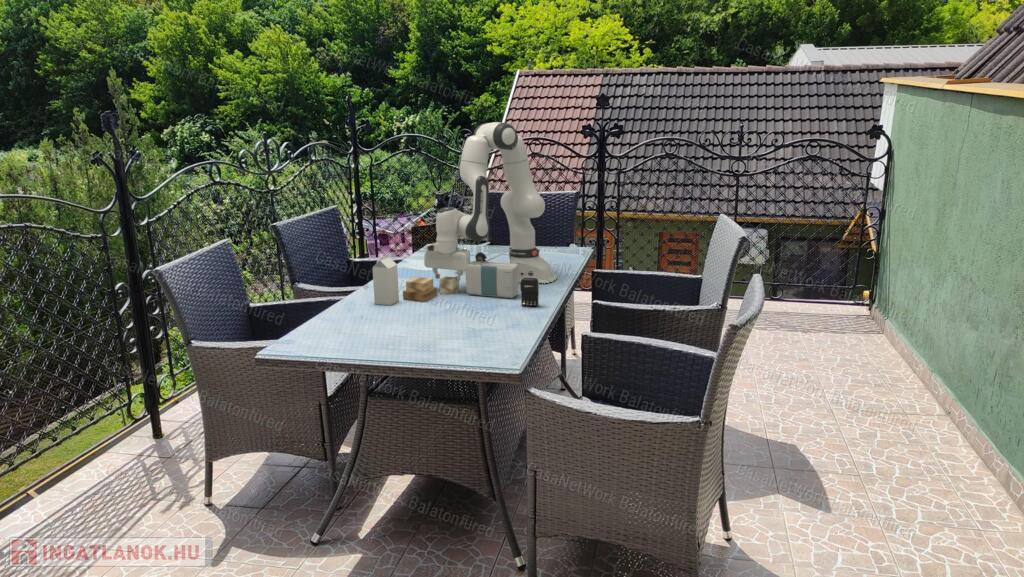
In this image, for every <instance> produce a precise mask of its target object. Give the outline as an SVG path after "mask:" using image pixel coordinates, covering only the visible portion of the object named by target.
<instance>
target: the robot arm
mask: <svg viewBox="0 0 1024 577" xmlns="http://www.w3.org/2000/svg"><path fill="white" fill-rule="evenodd" d="M493 150H499V151H500V154H501V159H502V160H501V162H502V166H503V172H504V179H505V181H506V183H507V184H508V186H509V187H510V188H511V190H509V191H505V192H504V193H503V194H502V196H501V198H500V207H501V209H503V211H504V213H505V216H506V219H507V223H508V229H509V242H510V243H509V250H510V251H509V250H508V252H509V253H508V254H509V255H508V256H509V264H518V284H521V280H522V278H523V277H536V278H538V280H539V283H542V284H541V285H544V284H545V283H548V284H550V283H549V282H552V283H554V282H555V281H557V280H558V275H556V274H553V271H552V270H553V269H552V266H551V264H550V263H549V262H548V261H546V260H545V259H544V258H543V257H541V255H540V252H541V251H540V250H541V248H537V247H536V230H535V228H534V226H533V224H532V223H531V219H535V218H539V217H540V216H542V215H543V214H544V212H545V209H546V203H545V200H544V199H543V197H542V196H541V195H540V194H539V192H538V190H537V187H536V185H535V183H534V180H533V177H532V175H531V174H532V173H531V170H530V169H531V168H530V163H529V156H528V151H527V147H526V145H525V142H524V139H523V137H522V136H521V135H520V134H518V133H517V130H516V129H515V128H514V126H513V125H512V124H510V123H507V122H499V121H493V122H483V123H481V124H479V125H478V126H476V127H475V129H474V130H473V134H472V135H470V136H468V137H467V138H466V140H465V142H464V146H463V149H462V152H461V156H460V157H461V158H460V164H459V176H460V178H461V180H462V182H463V183H465V184H466V185H467V186H468V187H469V188H470V189H471V191H472V194H473V198H472V199H473V201H472V202H473V203H472V205H473V206H472V214H469V213H466V212H463V211H460V210H458V209H457V208H456V207H454V206H445V207H441V208H439V209H438V211H437V212H436V217H435V218H436V219H435V231H436V238H435V241H436V242H433V243H429V244H427V245H425V251H424V252H425V253H424V260H423V263H424V264H423V265H424V266H425V268H429V269H430V268H431V269H432V272H433V274H434V278H435V279H436V280H440V279H441V274H440V273H439V272H438V270H439V269H440V270H448V271H456V270H458V271H457V275H455V276H454V277H455V280H456V281H459V282H460V281H461V276H463V275H462V273H463V271H466V267H467V265H468V264H470V263H471V262H472V261H471V251H470V250H468V249H467V248H465V247H464V248H463V247H462V248H461V247H459V237H463V238H466V239H468V240H471V241H474V242H481V241H483V240H484V239H486V237H487V236H488V234H489V232H490V223H489V198H490V197H489V196H490V195H489V192H490V190H489V189H490V188H489V186H490V185H489V182H488V177H487V175H488V174H487V170H488V161H489V160H488V159H489V155H490V153H491V151H493ZM513 248H515V249H513ZM511 249H512V250H511ZM556 279H557V280H556ZM554 280H555V281H554ZM553 281H554V282H553ZM543 283H544V284H543ZM545 285H546V284H545Z"/></svg>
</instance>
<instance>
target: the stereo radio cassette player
mask: <svg viewBox="0 0 1024 577" xmlns="http://www.w3.org/2000/svg"><path fill="white" fill-rule="evenodd" d="M513 249H515V248H513ZM511 250H512V249H511ZM509 251H510V250H506V251H504V252H502V253H500V254H497V255H496V256H493V257H491V258H489V259H487V260H486V261H485V262H481V261H476V260H474V261H470V262H471V263H470V264H468V265H467V267H466V275H465V286H466V287H465V288H466V290H465V291H466V293H467V294H468V295H470V296H483V297H493V298H505V299H506V298H507V299H511V298H512V299H514V297H515V296H517V295H518V293H519V283H518V264H510V262H509V263H507V262H506V263H505V262H492V260H494V259H496V258H497V257H500V256H502V255H504V254H506V253H508V252H509Z"/></svg>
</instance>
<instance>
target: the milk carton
mask: <svg viewBox="0 0 1024 577" xmlns="http://www.w3.org/2000/svg"><path fill="white" fill-rule="evenodd" d="M398 274H399V273H398V264H397V263H396V262H395V260H393V259H392V258H391V257H390V254H389V253H387V254H385V255H383V256H380V257H379V259H377V260H376V263H375V264H374V265H373V266H372V282H373V283H372V284H373V295H374V296H373V297H374V305H384V306H392V305H395V304H396V303H397V302H399V301H400V294H399V293H400V291H399V277H398Z"/></svg>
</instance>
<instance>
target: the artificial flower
mask: <svg viewBox="0 0 1024 577" xmlns="http://www.w3.org/2000/svg"><path fill="white" fill-rule="evenodd" d="M486 259H487V256H486V254H485V253H483V252H478V253H476V254H475V261H481V262H485V261H487V260H486ZM455 271H456V272H458V270H455ZM464 275H465V276H466V271H463V273H462V275H461V276H464Z"/></svg>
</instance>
